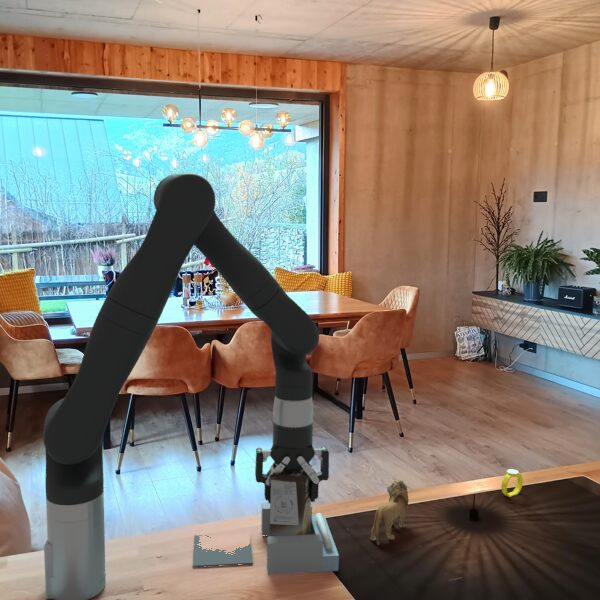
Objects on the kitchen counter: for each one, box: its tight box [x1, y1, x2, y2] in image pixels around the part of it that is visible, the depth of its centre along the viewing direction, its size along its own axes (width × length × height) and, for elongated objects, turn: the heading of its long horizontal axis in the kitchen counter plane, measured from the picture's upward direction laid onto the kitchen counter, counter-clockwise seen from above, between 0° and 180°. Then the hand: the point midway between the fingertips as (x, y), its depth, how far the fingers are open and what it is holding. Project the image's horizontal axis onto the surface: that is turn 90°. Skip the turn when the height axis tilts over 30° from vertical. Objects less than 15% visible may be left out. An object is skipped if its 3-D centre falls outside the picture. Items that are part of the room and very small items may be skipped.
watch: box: [501, 468, 524, 498], centre depth 152 cm, size 6×3×6 cm, turn 123°
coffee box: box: [270, 464, 313, 536], centre depth 124 cm, size 9×6×16 cm
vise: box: [260, 502, 340, 575], centre depth 125 cm, size 13×16×6 cm
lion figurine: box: [370, 479, 409, 546], centre depth 133 cm, size 15×5×9 cm, turn 156°
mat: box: [192, 534, 254, 568], centre depth 125 cm, size 11×11×1 cm
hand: (291, 500), depth 124 cm, fingers closed on coffee box, 7 cm apart
